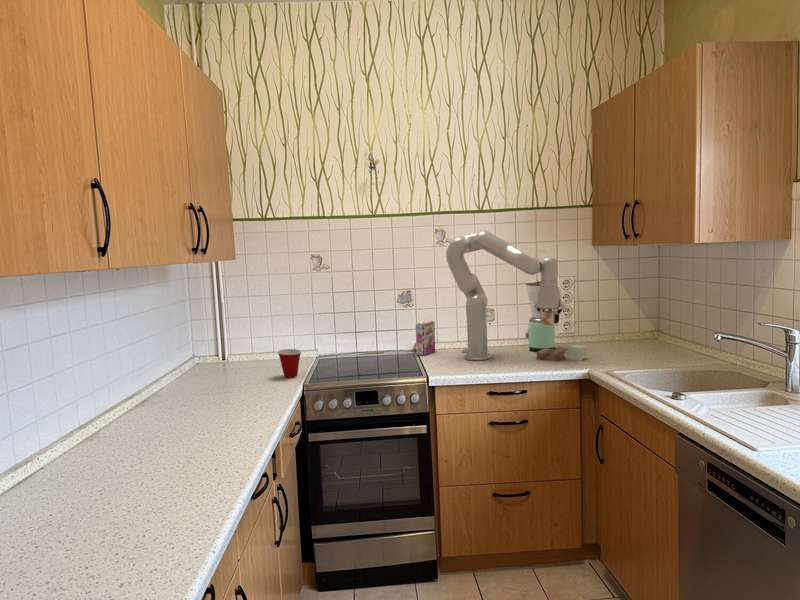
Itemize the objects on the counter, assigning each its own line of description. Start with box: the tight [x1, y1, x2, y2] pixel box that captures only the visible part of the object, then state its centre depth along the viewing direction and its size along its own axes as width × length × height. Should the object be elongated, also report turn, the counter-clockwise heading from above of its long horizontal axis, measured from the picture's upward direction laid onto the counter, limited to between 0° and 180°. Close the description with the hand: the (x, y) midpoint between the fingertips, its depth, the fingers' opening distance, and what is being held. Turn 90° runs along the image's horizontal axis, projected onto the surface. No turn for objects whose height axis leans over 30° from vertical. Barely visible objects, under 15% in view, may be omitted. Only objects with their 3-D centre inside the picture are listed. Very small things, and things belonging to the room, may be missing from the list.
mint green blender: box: [525, 280, 562, 352], centre depth 301 cm, size 19×13×35 cm
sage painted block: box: [567, 344, 587, 362], centre depth 279 cm, size 6×6×6 cm
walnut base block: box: [536, 348, 566, 362], centre depth 282 cm, size 10×10×4 cm
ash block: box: [541, 310, 560, 326], centre depth 280 cm, size 6×6×6 cm
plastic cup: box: [277, 348, 303, 378], centre depth 269 cm, size 11×11×12 cm
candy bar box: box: [415, 320, 436, 356], centre depth 307 cm, size 11×5×16 cm, turn 144°
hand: (549, 322), depth 281 cm, fingers closed on ash block, 6 cm apart
